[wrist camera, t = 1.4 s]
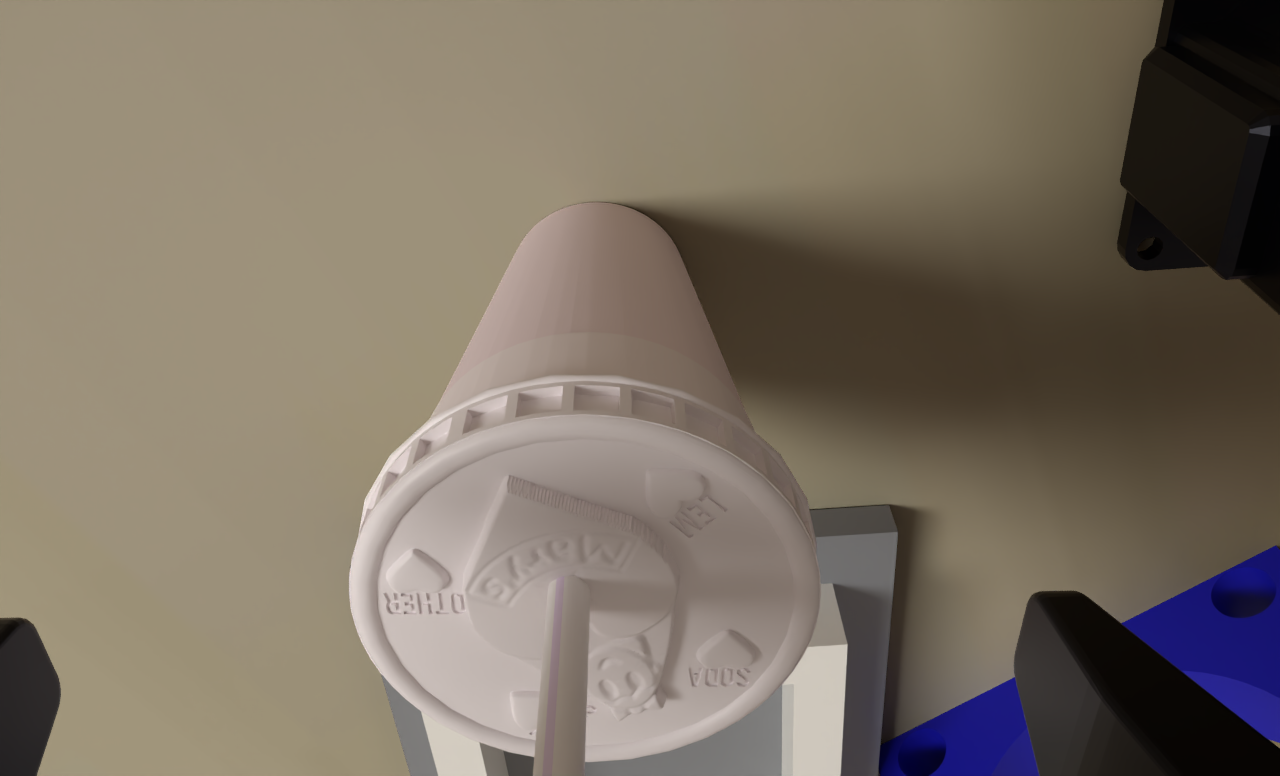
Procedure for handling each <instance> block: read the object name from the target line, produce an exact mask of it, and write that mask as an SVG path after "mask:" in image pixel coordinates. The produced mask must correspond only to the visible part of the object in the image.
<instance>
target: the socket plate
mask: <svg viewBox="0 0 1280 776" xmlns="http://www.w3.org/2000/svg"><path fill="white" fill-rule="evenodd" d="M810 515H811V519H812V524H813V529H814V533H815V538H816V542H817V548H816V556H817V561H818V566H819V571H820V582H821V598H820V609H819V614H818V618H817V623H816V626H815V629H814V632H813V635H812V638H811V641H810V643H809V645H808V647H807V649H806V651H805V653H804V655H803V657H802V658H801V660H800V661H799V663H798V665H797V666H796V668H795V669H794V671H793V672H792V673H791V674H790V676H789V677H788V678H787V679H786V681H785V682H784V683H783V684H782V685H781V686H780V687H779V688H778V689H777V690H776V691H775V692H774V693H773V694H772V695H771V696H770V697H769V698H768V699H767V700H766V701H765V702H763V703H762V704H761V705H760V706H759V707H757V708H756V709H755V710H753V711H752V712H751V713H749V714H748V715H746V716H745V717H743V718H742V719H741V720H739V721H738V722H736V723H734V724H732V725H730V726H728V727H727V728H725V729H723V730H721V731H719V732H717V733H715V734H713V735H711V736H709V737H708V738H705V739H702V740H700V741H697V742H694V743H691V744H688V745H686V746H683V747H680V748H677V749H674V750H671V751H668V752H663V753H658V754H653V755H648V756H644V757H639V758H634V759H627V760H613V761H599V762H585V776H878V767H879V755H880V743H881V732H882V720H883V708H884V696H885V684H886V672H887V660H888V648H889V636H890V624H891V612H892V600H893V588H894V576H895V564H896V552H897V540H898V530H897V527H896V524H895V521H894V519H893V516H892V513H891V510H890V507H889V505H883V506H867V507H852V508H836V509H821V510H810ZM350 567H351V565H350ZM381 676H382V679H383V683H384V686H385V689H386V693H387V696H388V700H389V703H390V707H391V710H392V713H393V717H394V720H395V724H396V727H397V731H398V734H399V737H400V741H401V744H402V748H403V751H404V755H405V758H406V762H407V765H408V768H409V772H410V775H411V776H533V767H534V757H531V756H526V755H521V754H515V753H510V752H507V751H504V750H501V749H498V748H495V747H492V746H489V745H486V744H483V743H480V742H477V741H474V740H471V739H469V738H467V737H465V736H463V735H461V734H459V733H457V732H455V731H453V730H451V729H449V728H447V727H445V726H443V725H441V724H439V723H437V722H436V721H435V720H433V719H432V718H430V717H429V716H427V715H426V714H424V713H423V712H421V711H420V710H419V709H417V708H416V707H415V706H414V705H412V704H411V703H410V702H408V701H407V700H406V699H405V698H404V697H403V696H402V695H401V694H400V693H399V692H398V691H397V690H395V689H394V688H393V687H392V686H391V684H390V683H389V682H388V681H387V680H386V679H385V677H384V676H383V675H382V674H381Z"/></svg>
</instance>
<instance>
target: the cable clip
mask: <svg viewBox="0 0 1280 776" xmlns="http://www.w3.org/2000/svg"><path fill="white" fill-rule="evenodd" d="M1121 624H1122V625H1124V626H1125V627H1126V628H1128V629H1129V630H1130V631H1131V632H1133V633H1134V634H1135V635H1136V636H1138V637H1139V638H1140V639H1141V640H1143V641H1144V642H1145V643H1147V644H1148V645H1149V646H1150V647H1152V648H1153V649H1154V650H1155V651H1157V652H1158V653H1159V654H1161V655H1162V656H1163V657H1164V658H1166V659H1167V660H1168V661H1169V662H1171V663H1172V664H1173V665H1174V666H1176V667H1177V668H1178V669H1180V670H1181V671H1182V672H1183V673H1185V674H1186V675H1187V676H1188V677H1190V678H1191V679H1192V680H1193V681H1195V682H1196V683H1197V684H1199V685H1200V686H1201V687H1202V688H1204V689H1205V690H1206V691H1207V692H1209V693H1210V694H1211V695H1212V696H1214V697H1215V698H1216V699H1218V700H1219V701H1220V702H1221V703H1223V704H1224V705H1225V706H1226V707H1228V708H1229V709H1230V710H1231V711H1233V712H1234V713H1235V714H1237V715H1238V716H1239V717H1240V718H1242V719H1243V720H1244V721H1245V722H1247V723H1248V724H1249V725H1250V726H1252V727H1253V728H1254V729H1256V730H1257V731H1258V732H1259V733H1261V734H1262V735H1263V736H1264V737H1266V738H1267V739H1269V740H1273V741H1276V742H1279V743H1280V550H1279V549H1278V547H1277V546H1274V547H1272V548H1270V549H1268V550H1266V551H1264V552H1262V553H1260V554H1258V555H1256V556H1254V557H1252V558H1250V559H1248V560H1246V561H1244V562H1242V563H1240V564H1238V565H1236V566H1234V567H1232V568H1230V569H1228V570H1226V571H1224V572H1222V573H1220V574H1218V575H1216V576H1214V577H1213V578H1211V579H1209V580H1207V581H1205V582H1203V583H1201V584H1199V585H1197V586H1195V587H1193V588H1191V589H1189V590H1187V591H1185V592H1183V593H1181V594H1179V595H1177V596H1175V597H1173V598H1171V599H1169V600H1167V601H1165V602H1163V603H1161V604H1159V605H1157V606H1155V607H1153V608H1151V609H1149V610H1147V611H1145V612H1143V613H1141V614H1139V615H1137V616H1135V617H1133V618H1131V619H1129V620H1127V621H1125V622H1123V623H1121ZM878 769H879V773H880V776H1039V772H1038V768H1037V764H1036V760H1035V756H1034V752H1033V748H1032V744H1031V740H1030V736H1029V732H1028V728H1027V724H1026V720H1025V716H1024V712H1023V708H1022V704H1021V701H1020V697H1019V693H1018V689H1017V685H1016V680H1015V677H1014V678H1012V679H1010V680H1008V681H1007V682H1005V683H1003V684H1001V685H999V686H997V687H995V688H993V689H991V690H989V691H987V692H985V693H983V694H981V695H979V696H977V697H975V698H973V699H971V700H969V701H967V702H965V703H963V704H961V705H959V706H957V707H955V708H953V709H951V710H949V711H947V712H945V713H943V714H941V715H939V716H937V717H935V718H933V719H931V720H929V721H927V722H925V723H923V724H921V725H919V726H917V727H915V728H913V729H911V730H909V731H907V732H905V733H903V734H902V735H900V736H898V737H896V738H894V739H892V740H890V741H888V742H886V743H884V744H882V745H880V755H879V767H878Z"/></svg>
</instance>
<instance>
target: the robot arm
mask: <svg viewBox="0 0 1280 776" xmlns="http://www.w3.org/2000/svg"><path fill="white" fill-rule="evenodd" d="M1120 183H1121V185H1122V186H1123V187H1124V188H1125V189H1126V190H1127V194H1126V200H1125V205H1124V210H1123V215H1122V220H1121V226H1120V231H1119V236H1118V241H1117V248H1118V252H1119V254H1120V255H1121V257H1122V258H1123V259H1124V260H1125V261H1126V262H1127V263H1128V264H1129V266H1131V267H1133V268H1134V269H1136V270H1144V271H1148V270H1163V269H1177V268H1191V267H1206V266H1209V267H1210V268H1211V269H1212V270H1213V271H1214V272H1215V273H1216V274H1218V275H1219V276H1220V277H1221V278H1223V279H1226V280H1230V279H1240V280H1241V281H1242V282H1243V283H1244V284H1245V285H1247V286H1248V287H1249V288H1250V289H1251V290H1252V291H1253V292H1254V293H1255V294H1257V295H1258V296H1259V297H1260V298H1261V299H1262V300H1263V301H1264V302H1266V303H1267V304H1268V305H1269V306H1270V307H1271V308H1272V309H1273V310H1274V311H1276V312H1277V313H1278V314H1279V315H1280V0H1164V3H1163V8H1162V13H1161V18H1160V23H1159V29H1158V34H1157V39H1156V44H1155V47H1154V48H1153V50H1152V51H1151V52H1150V53H1149V54H1148V55H1147V56H1146V57H1145V59H1144V60H1143V62H1142V66H1141V71H1140V76H1139V82H1138V87H1137V92H1136V98H1135V103H1134V108H1133V114H1132V119H1131V124H1130V130H1129V135H1128V140H1127V146H1126V151H1125V156H1124V162H1123V167H1122V172H1121V178H1120ZM1150 237H1154V241H1153V243H1152V245H1151V246H1150V247H1149V248H1148V249H1146V250H1144V251H1140V252H1138V251H1137V249H1138V247H1139V245H1140V243H1141V242H1142V241H1144V240H1145V239H1147V238H1150ZM1014 673H1015V680H1016V685H1017V689H1018V693H1019V697H1020V701H1021V704H1022V708H1023V712H1024V716H1025V720H1026V724H1027V728H1028V732H1029V736H1030V740H1031V744H1032V748H1033V752H1034V756H1035V760H1036V764H1037V768H1038V772H1039V776H1280V748H1278V747H1277V746H1276V745H1275V744H1273V743H1272V742H1271V741H1269V740H1268V739H1267V738H1266V737H1264V736H1263V735H1262V734H1261V733H1259V732H1258V731H1257V730H1256V729H1254V728H1253V727H1252V726H1250V725H1249V724H1248V723H1247V722H1245V721H1244V720H1243V719H1242V718H1240V717H1239V716H1238V715H1237V714H1235V713H1234V712H1233V711H1231V710H1230V709H1229V708H1228V707H1226V706H1225V705H1224V704H1223V703H1221V702H1220V701H1219V700H1218V699H1216V698H1215V697H1214V696H1212V695H1211V694H1210V693H1209V692H1207V691H1206V690H1205V689H1204V688H1202V687H1201V686H1200V685H1199V684H1197V683H1196V682H1195V681H1193V680H1192V679H1191V678H1190V677H1188V676H1187V675H1186V674H1185V673H1183V672H1182V671H1181V670H1180V669H1178V668H1177V667H1176V666H1174V665H1173V664H1172V663H1171V662H1169V661H1168V660H1167V659H1166V658H1164V657H1163V656H1162V655H1161V654H1159V653H1158V652H1157V651H1155V650H1154V649H1153V648H1152V647H1150V646H1149V645H1148V644H1147V643H1145V642H1144V641H1143V640H1141V639H1140V638H1139V637H1138V636H1136V635H1135V634H1134V633H1133V632H1131V631H1130V630H1129V629H1128V628H1126V627H1125V626H1124V625H1122V624H1121V623H1120V622H1119V621H1117V620H1116V619H1115V618H1114V617H1112V616H1111V615H1110V614H1109V613H1107V612H1106V611H1105V610H1103V609H1102V608H1101V607H1100V606H1098V605H1097V604H1096V603H1095V602H1093V601H1092V600H1091V599H1090V598H1088V597H1087V596H1085V595H1084V594H1082V593H1080V592H1077V591H1040V592H1037V593H1034V594H1033V595H1032V596H1031V597H1030V599H1029V601H1028V603H1027V607H1026V611H1025V615H1024V619H1023V623H1022V627H1021V631H1020V635H1019V639H1018V643H1017V647H1016V651H1015V657H1014ZM60 697H61V688H60V682H59V678H58V675H57V673H56V671H55V669H54V667H53V665H52V662H51V660H50V658H49V656H48V654H47V652H46V649H45V647H44V645H43V643H42V641H41V638H40V636H39V634H38V632H37V630H36V628H35V626H34V625H33V624H32V623H31V622H30V621H28V620H27V619H23V618H0V776H37V773H38V770H39V767H40V764H41V761H42V757H43V754H44V751H45V748H46V745H47V742H48V739H49V736H50V733H51V730H52V727H53V724H54V720H55V717H56V714H57V711H58V708H59V704H60Z"/></svg>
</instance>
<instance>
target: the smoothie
mask: <svg viewBox="0 0 1280 776" xmlns="http://www.w3.org/2000/svg"><path fill="white" fill-rule="evenodd" d="M816 548H817V542H816V538H815V533H814V529H813V524H812V519H811V515H810V510H809V506H808V501H807V498H806V496H805V494H804V493H803V491H802V489H801V488H800V486H799V484H798V483H797V481H796V479H795V478H794V476H793V475H792V473H791V471H790V470H789V468H788V466H787V465H786V463H785V461H784V460H783V458H782V457H781V455H780V454H779V453H778V452H777V451H776V450H775V449H774V448H772V447H771V446H770V445H769V444H768V443H767V442H766V441H765V440H763V439H762V438H761V437H760V436H759V435H758V434H757V433H756V432H755V431H754V428H753V426H752V424H751V422H750V420H749V418H748V416H747V414H746V411H745V409H744V406H743V404H742V402H741V399H740V397H739V394H738V392H737V390H736V387H735V385H734V382H733V380H732V378H731V375H730V373H729V371H728V368H727V366H726V363H725V361H724V359H723V356H722V354H721V351H720V349H719V347H718V344H717V342H716V339H715V337H714V335H713V332H712V330H711V327H710V325H709V323H708V320H707V318H706V316H705V313H704V311H703V308H702V306H701V304H700V301H699V299H698V296H697V294H696V292H695V289H694V287H693V284H692V282H691V280H690V277H689V275H688V272H687V270H686V268H685V265H684V263H683V261H682V258H681V256H680V253H679V251H678V249H677V247H676V245H675V244H674V242H673V241H672V239H671V238H670V237H669V235H668V234H667V233H666V232H665V231H664V230H663V229H662V228H661V227H660V226H659V225H658V224H657V223H656V222H655V221H653V220H652V219H650V218H649V217H647V216H646V215H644V214H642V213H640V212H638V211H636V210H634V209H631V208H628V207H625V206H622V205H618V204H612V203H604V202H590V203H581V204H576V205H572V206H569V207H566V208H563V209H560V210H558V211H556V212H554V213H552V214H550V215H548V216H547V217H545V218H544V219H542V220H541V221H540V222H539V223H537V224H536V225H535V226H534V227H533V228H532V229H531V230H530V231H529V232H528V233H527V235H526V236H525V237H524V239H523V240H522V242H521V244H520V245H519V247H518V249H517V251H516V253H515V255H514V257H513V259H512V261H511V263H510V265H509V267H508V269H507V271H506V272H505V274H504V276H503V278H502V280H501V282H500V284H499V286H498V288H497V290H496V292H495V294H494V296H493V298H492V300H491V302H490V304H489V306H488V308H487V310H486V312H485V314H484V316H483V318H482V319H481V321H480V323H479V325H478V327H477V329H476V331H475V333H474V335H473V337H472V339H471V341H470V343H469V345H468V347H467V349H466V351H465V353H464V355H463V357H462V359H461V361H460V363H459V365H458V366H457V368H456V370H455V372H454V374H453V376H452V378H451V380H450V382H449V384H448V386H447V388H446V390H445V392H444V394H443V396H442V398H441V400H440V402H439V404H438V405H437V407H436V409H435V410H434V412H433V414H432V415H431V417H430V419H429V420H428V421H427V422H426V423H425V424H424V425H422V426H421V427H420V428H419V429H418V430H417V431H416V432H415V433H414V434H413V435H411V436H410V437H409V438H408V439H407V440H406V441H405V442H404V443H403V444H402V445H401V446H399V447H398V448H397V449H396V450H395V451H394V452H393V453H392V454H391V455H390V456H389V458H388V460H387V461H386V463H385V465H384V467H383V468H382V470H381V472H380V474H379V475H378V477H377V479H376V481H375V483H374V484H373V486H372V488H371V490H370V491H369V493H368V495H367V497H366V498H365V501H364V507H363V512H362V518H361V524H360V529H359V535H358V539H357V542H356V546H355V549H354V553H353V556H352V561H351V567H350V574H349V597H350V605H351V611H352V615H353V619H354V623H355V627H356V629H357V632H358V634H359V637H360V639H361V642H362V644H363V646H364V648H365V649H366V651H367V653H368V655H369V657H370V659H371V660H372V661H373V663H374V664H375V666H376V667H377V669H378V670H379V671H380V673H381V674H382V675H383V676H384V677H385V679H386V680H387V681H388V682H389V683H390V684H391V686H392V687H393V688H394V689H395V690H397V691H398V692H399V693H400V694H401V695H402V696H403V697H404V698H405V699H406V700H407V701H408V702H410V703H411V704H412V705H414V706H415V707H416V708H417V709H419V710H420V711H421V712H423V713H424V714H426V715H427V716H429V717H430V718H432V719H433V720H435V721H436V722H437V723H439V724H441V725H443V726H445V727H447V728H449V729H451V730H453V731H455V732H457V733H459V734H461V735H463V736H465V737H467V738H469V739H471V740H474V741H477V742H480V743H483V744H486V745H489V746H492V747H495V748H498V749H501V750H504V751H507V752H510V753H515V754H521V755H526V756H531V757H534V767H533V776H585V762H599V761H613V760H627V759H634V758H639V757H644V756H648V755H653V754H658V753H663V752H668V751H671V750H674V749H677V748H680V747H683V746H686V745H688V744H691V743H694V742H697V741H700V740H702V739H705V738H708V737H709V736H711V735H713V734H715V733H717V732H719V731H721V730H723V729H725V728H727V727H728V726H730V725H732V724H734V723H736V722H738V721H739V720H741V719H742V718H743V717H745V716H746V715H748V714H749V713H751V712H752V711H753V710H755V709H756V708H757V707H759V706H760V705H761V704H762V703H763V702H765V701H766V700H767V699H768V698H769V697H770V696H771V695H772V694H773V693H774V692H775V691H776V690H777V689H778V688H779V687H780V686H781V685H782V684H783V683H784V682H785V681H786V679H787V678H788V677H789V676H790V674H791V673H792V672H793V671H794V669H795V668H796V666H797V665H798V663H799V661H800V660H801V658H802V657H803V655H804V653H805V651H806V649H807V647H808V645H809V643H810V641H811V638H812V635H813V632H814V629H815V626H816V623H817V618H818V614H819V609H820V598H821V582H820V571H819V566H818V561H817V556H816Z"/></svg>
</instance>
